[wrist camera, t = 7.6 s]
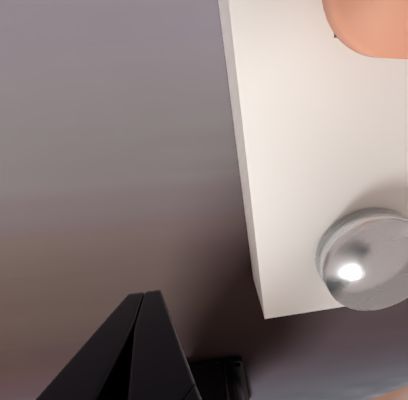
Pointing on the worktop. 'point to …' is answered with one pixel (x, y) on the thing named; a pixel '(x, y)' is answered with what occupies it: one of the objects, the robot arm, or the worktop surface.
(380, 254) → the plug
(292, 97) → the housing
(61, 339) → the worktop surface
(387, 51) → the terracotta plug
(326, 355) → the worktop surface
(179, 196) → the worktop surface
